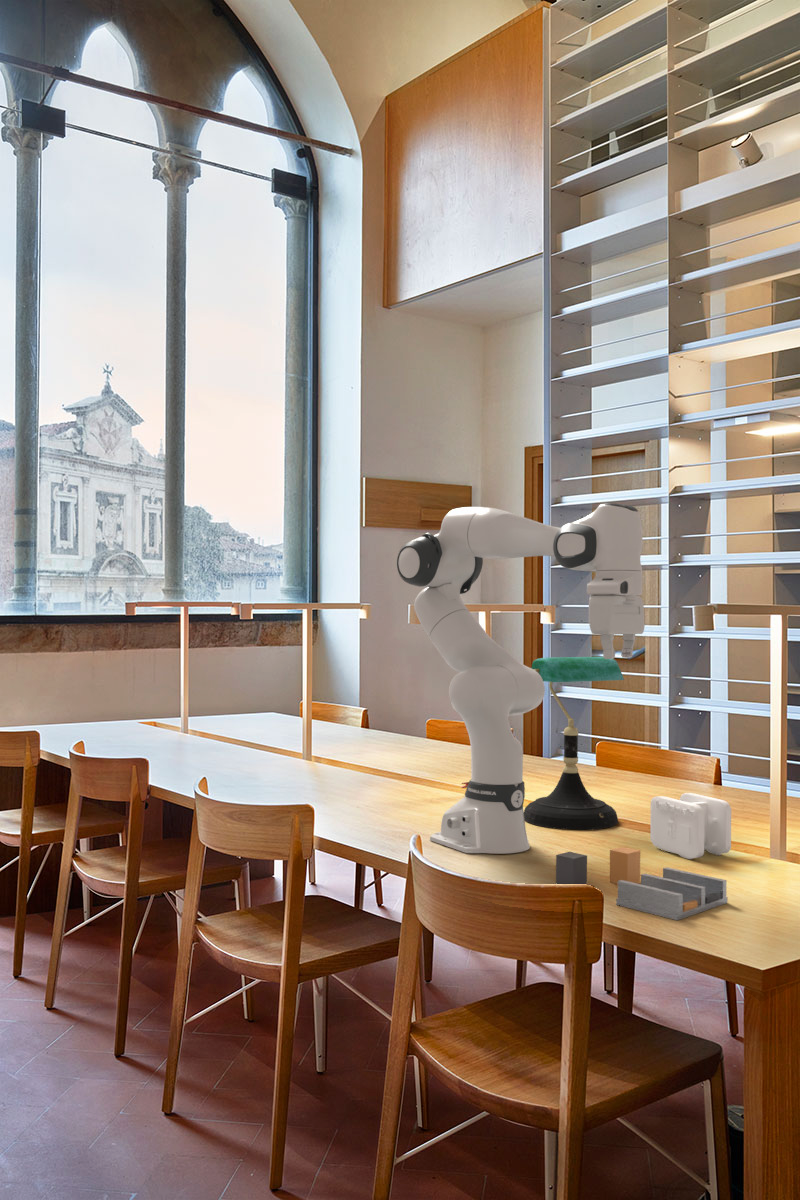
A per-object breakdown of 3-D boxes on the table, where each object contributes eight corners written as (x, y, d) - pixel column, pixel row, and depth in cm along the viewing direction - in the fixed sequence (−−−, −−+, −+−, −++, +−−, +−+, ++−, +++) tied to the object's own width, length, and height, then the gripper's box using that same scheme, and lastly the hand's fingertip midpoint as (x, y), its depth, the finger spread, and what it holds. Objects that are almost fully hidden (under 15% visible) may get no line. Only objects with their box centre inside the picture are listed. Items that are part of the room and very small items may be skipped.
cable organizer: (734, 858, 212) (735, 802, 212) (695, 863, 208) (696, 806, 208) (685, 843, 226) (685, 791, 226) (647, 848, 221) (647, 794, 221)
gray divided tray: (616, 904, 177) (616, 881, 177) (667, 888, 187) (667, 866, 187) (677, 920, 168) (677, 896, 168) (727, 902, 179) (727, 879, 179)
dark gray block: (555, 887, 187) (556, 854, 188) (569, 883, 190) (569, 851, 190) (573, 892, 185) (573, 858, 185) (586, 888, 187) (587, 855, 187)
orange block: (609, 881, 192) (609, 849, 192) (622, 878, 195) (622, 846, 195) (627, 886, 189) (627, 853, 189) (639, 882, 192) (640, 850, 192)
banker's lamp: (561, 834, 233) (563, 659, 234) (498, 817, 252) (499, 655, 253) (643, 823, 248) (644, 658, 248) (577, 807, 267) (578, 654, 268)
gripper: (622, 588, 207) (621, 656, 207) (583, 584, 190) (582, 659, 190) (652, 588, 204) (652, 657, 204) (615, 584, 187) (614, 660, 186)
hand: (618, 658), depth 197 cm, fingers open, 8 cm apart
